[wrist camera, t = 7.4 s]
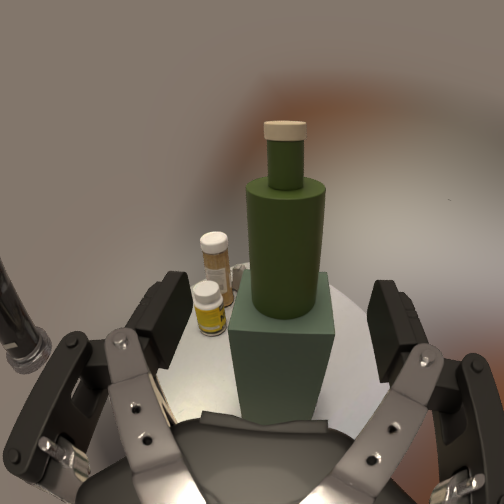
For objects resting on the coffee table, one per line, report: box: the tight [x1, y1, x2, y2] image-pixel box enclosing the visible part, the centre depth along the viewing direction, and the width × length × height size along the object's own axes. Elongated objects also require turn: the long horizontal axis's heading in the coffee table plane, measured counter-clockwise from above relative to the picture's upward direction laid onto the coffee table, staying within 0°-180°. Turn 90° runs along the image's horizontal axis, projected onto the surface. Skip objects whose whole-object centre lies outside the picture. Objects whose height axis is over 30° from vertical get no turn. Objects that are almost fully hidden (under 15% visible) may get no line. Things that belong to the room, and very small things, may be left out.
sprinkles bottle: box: [200, 232, 234, 307], centre depth 49 cm, size 5×5×14 cm
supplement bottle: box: [193, 281, 226, 336], centre depth 44 cm, size 5×5×8 cm
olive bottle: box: [246, 121, 326, 320], centre depth 18 cm, size 5×5×13 cm
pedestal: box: [228, 269, 335, 425], centre depth 27 cm, size 8×8×20 cm
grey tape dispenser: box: [230, 264, 246, 291], centre depth 52 cm, size 6×1×10 cm
